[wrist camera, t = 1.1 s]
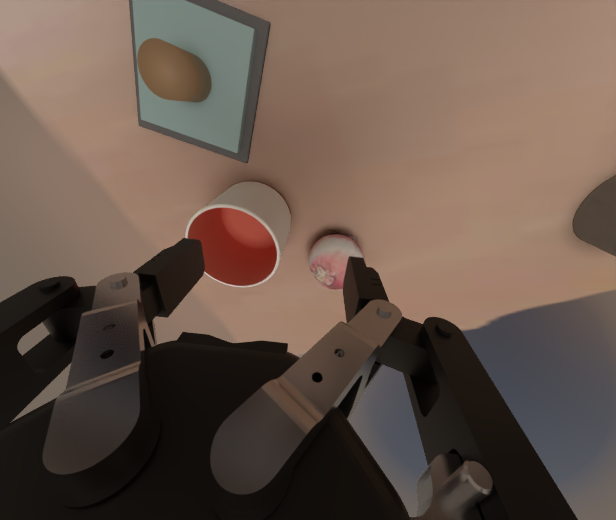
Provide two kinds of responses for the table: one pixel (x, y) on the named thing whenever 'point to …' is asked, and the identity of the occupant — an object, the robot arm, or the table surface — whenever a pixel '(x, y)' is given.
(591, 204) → the coffee mug
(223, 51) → the lid
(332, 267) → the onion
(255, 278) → the cup
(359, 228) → the table surface
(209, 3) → the mat
